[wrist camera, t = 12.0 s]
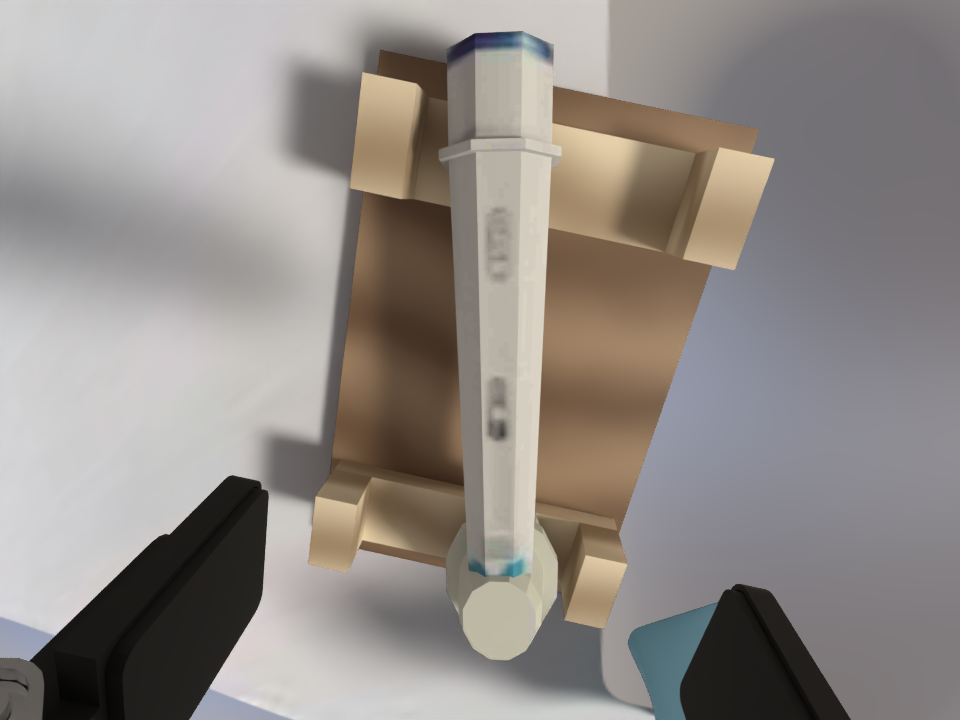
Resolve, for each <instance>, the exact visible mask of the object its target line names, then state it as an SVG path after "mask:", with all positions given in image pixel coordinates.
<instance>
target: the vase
mask: <svg viewBox="0 0 960 720" xmlns="http://www.w3.org/2000/svg"><path fill="white" fill-rule="evenodd" d="M717 605H718V602H717V603H714V604H711V605H707V606H704V607H701V608H698V609H695V610H692V611H689V612H686V613H683V614H679V615H676V616H673V617H670V618H667V619H664V620H660V621H657V622H654V623H651V624H648V625H645V626H642V627H639V628H637V629H635V630H634V631H633V632H632V633H631V635H630V637H629V640H628V645H629V649H630V651H631V654H632V656H633V658H634V660H635V662H636V664H637V667H638V669H639V671H640V673H641V675H642V678H643V680H644V682H645V685H646V688H647V690H648V693H649V696H650V699H651V702H652V705H653V709H654V713H655V719H656V720H686V718H685V715H684V712H683V709H682V706H681V702H680V684H681V681H682V679H683V677H684V675H685V673H686V671H687V668H688V666H689V664H690V662H691V660H692V658H693V656H694V654H695V651H696V649H697V647H698V645H699V643H700V641H701V639H702V636H703V634H704V632H705V630H706V628H707V626H708V624H709V622H710V619H711V617H712V615H713V613H714V611H715V609H716V607H717Z"/></svg>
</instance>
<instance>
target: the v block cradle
mask: <svg viewBox="0 0 960 720" xmlns="http://www.w3.org/2000/svg"><path fill="white" fill-rule="evenodd" d="M758 132H759V129H754V128H749V127H745V126H740V125H735V124H730V123H726V122H721V121H716V120H711V119H707V118H702V117H697V116H692V115H688V114H683V113H678V112H673V111H669V110H664V109H659V108H654V107H650V106H645V105H640V104H635V103H631V102H625V101H621V100H616V99H612V98H607V97H602V96H597V95H593V94H588V93H583V92H578V91H573V90H569V89H564V88H559V87H554V86H553V107H552V144H553V145H557V146H562V151H561V159H560V162H559V164H558V167H556V168H551V181H550V202H549V223H548V244H547V265H546V286H545V308H544V329H543V350H542V371H541V392H540V413H539V434H538V455H537V476H536V497H535V513H536V518H537V520H538V522H539V524H540V526H542V527H543V529H544V531H545V533H546V535H547V537H548V539H549V541H550V543H551V545H552V547H553V549H554V551H555V553H556V555H557V561H558V579H557V592H558V593H562V602H563V612H564V620H565V621H570V622H574V623H579V624H583V625H588V626H592V627H597V628H602V629H604V628H605V625H606V622H607V620H608V617H609V614H610V611H611V609H612V606H613V603H614V600H615V597H616V595H617V592H618V589H619V586H620V584H621V581H622V578H623V576H624V573H625V570H626V567H627V565H628V564H627V561H626V558H625V554H624V551H623V548H622V544H621V540H620V537H619V531H620V529H621V526H622V523H623V520H624V517H625V514H626V511H627V509H628V506H629V503H630V500H631V497H632V494H633V491H634V488H635V486H636V483H637V480H638V477H639V474H640V471H641V468H642V465H643V462H644V460H645V457H646V454H647V450H648V448H649V445H650V442H651V440H652V436H653V434H654V431H655V428H656V425H657V422H658V419H659V417H660V414H661V411H662V408H663V405H664V402H665V399H666V396H667V393H668V390H669V388H670V385H671V382H672V379H673V376H674V373H675V370H676V368H677V365H678V362H679V359H680V356H681V353H682V350H683V347H684V344H685V342H686V339H687V336H688V333H689V330H690V327H691V324H692V321H693V318H694V316H695V313H696V310H697V307H698V304H699V301H700V299H701V296H702V293H703V290H704V287H705V284H706V281H707V278H708V276H709V272H710V269H711V267H712V265H713V266H718V267H723V268H727V269H732V270H734V269H735V267H736V264H737V262H738V259H739V256H740V253H741V251H742V248H743V245H744V242H745V240H746V237H747V234H748V231H749V228H750V226H751V223H752V220H753V217H754V215H755V212H756V209H757V206H758V204H759V201H760V198H761V195H762V192H763V190H764V187H765V184H766V182H767V179H768V176H769V173H770V171H771V168H772V165H773V162H774V160H775V159H772V158H767V157H763V156H758V155H753V154H751V151H752V149H753V146H754V143H755V140H756V137H757V135H758ZM445 147H448V94H447V64H445V63H440V62H435V61H431V60H426V59H421V58H416V57H412V56H407V55H402V54H397V53H393V52H388V51H383V50H380V56H379V65H378V73H377V75H374V74H369V73H364V72H362V81H361V90H360V99H359V108H358V117H357V126H356V135H355V144H354V153H353V162H352V171H351V180H350V188H351V189H356V190H361V191H363V199H362V207H361V216H360V224H359V233H358V241H357V249H356V258H355V266H354V275H353V283H352V291H351V300H350V308H349V317H348V325H347V333H346V342H345V350H344V358H343V367H342V375H341V384H340V392H339V400H338V409H337V417H336V426H335V434H334V442H333V451H332V459H331V468H330V476H329V477H328V479H327V480H326V482H325V483H324V485H323V486H322V488H321V489H320V491H319V492H318V493H317V495H316V497H315V506H314V515H313V524H312V533H311V542H310V551H309V560H308V564H310V565H314V566H319V567H323V568H328V569H332V570H337V571H342V572H346V573H347V572H348V570H349V568H350V566H351V564H352V562H353V559H354V557H355V555H356V553H357V551H358V549H362V550H366V551H371V552H375V553H380V554H385V555H389V556H394V557H398V558H403V559H407V560H412V561H417V562H421V563H426V564H430V565H435V566H439V567H444V568H446V558H447V554H448V551H449V549H450V547H451V545H452V543H453V541H454V539H455V537H456V535H457V533H458V531H459V529H460V527H461V525H462V524H463V523H465V522H466V512H465V491H464V470H463V449H462V429H461V408H460V387H459V366H458V346H457V325H456V304H455V283H454V263H453V242H452V221H451V200H450V180H449V170H446V169H445V167H444V166H443V165H442V163H441V162H440V160H439V149H442V148H445Z"/></svg>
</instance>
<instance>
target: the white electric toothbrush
mask: <svg viewBox="0 0 960 720" xmlns="http://www.w3.org/2000/svg"><path fill="white" fill-rule="evenodd" d="M553 51H554V45H553V44H550V43H548V42H546V41H543V40H541V39H539V38H537V37H534V36H532V35H530V34H527V33H525V32H523V31H517V32H493V33H475V34H473V35H471V36H469V37H468V38H466V39H464V40H462V41H460V42H459V43H457V44H455V45H453V46H452V47H450V48H448V49H447V94H448V147H445V148H442V149H439V160H440V162H441V163H442V165H443V166H444V167H445V169H446V170H449V180H450V200H451V221H452V242H453V263H454V283H455V304H456V325H457V346H458V366H459V387H460V408H461V429H462V449H463V470H464V491H465V512H466V522H465V523H463V524H462V525H461V527H460V529H459V531H458V533H457V535H456V537H455V539H454V541H453V543H452V545H451V547H450V549H449V551H448V554H447V558H446V585H447V593H448V595H449V597H450V599H451V601H452V603H453V605H454V607H455V608H456V610H457V612H458V614H459V622H460V625H461V627H462V629H463V631H464V633H465V635H466V636H467V638H468V640H469V642H470V644H471V646H472V648H473V649H475V650H476V651H478V652H479V653H481V654H482V655H484V656H485V657H487V658H488V659H491V660H510V659H512V658H514V657H516V656H518V655H519V654H521V653H523V652H525V651H526V650H527V648H528V647H529V645H530V643H531V642H532V640H533V638H534V636H535V635H536V633H537V631H538V629H539V628H540V626H541V624H542V622H543V620H544V619H545V617H546V615H547V613H548V612H549V610H550V608H551V606H552V605H553V603H554V601H555V599H556V598H557V579H558V561H557V555H556V553H555V551H554V549H553V547H552V545H551V543H550V541H549V539H548V537H547V535H546V533H545V531H544V529H543V527H542V526H540V524H539V522H538V520H537V518H536V513H535V497H536V476H537V455H538V434H539V413H540V392H541V371H542V350H543V329H544V308H545V286H546V265H547V244H548V223H549V202H550V181H551V168H556V167H558V164H559V162H560V159H561V151H562V146H557V145H553V144H552V107H553Z"/></svg>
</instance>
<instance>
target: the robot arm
mask: <svg viewBox="0 0 960 720" xmlns="http://www.w3.org/2000/svg"><path fill="white" fill-rule="evenodd" d="M268 498H269V496H268V491H266V490H262V488H261V483H260V482H259V481H256V480H251V479H247V478H242V477H237V476H233V475H232V476H229V477H227V478H226V479H225V480H224V481H223V482H222V483H221V484H220V485H219V486H218V487H217V488H216V489H215V490H214V491H213V492H212V493H211V494H210V495H209V496H208V497H207V498H206V499H205V500H204V501H203V502H202V503H201V504H200V505H199V506H198V507H197V508H196V509H195V510H194V511H193V512H192V513H191V514H190V515H189V516H188V517H187V518H186V519H185V520H184V521H183V522H182V523H181V524H180V525H179V526H178V527H177V528H176V529H175V530H174V531H173V532H172V533H171V534H170V535H168V534H164V535H162V536H159V537H158V538H157V539H155V540H154V541H153V542H152V543H151V544H149V545H148V546H147V547H146V548H145V549H144V550H143V551H142V552H141V553H140V554H139V555H138V556H137V557H136V558H135V559H134V560H133V561H132V562H131V563H130V564H129V565H128V566H127V567H126V568H125V569H124V570H123V571H122V572H121V573H120V574H119V575H118V576H117V577H115V578H114V579H113V580H112V581H111V582H110V583H109V584H108V585H107V586H106V587H105V588H104V589H103V590H102V591H101V592H100V593H99V594H98V595H97V596H96V597H95V598H94V599H93V600H92V601H91V602H90V603H89V604H88V605H87V606H86V607H85V608H84V609H83V610H82V611H80V612H79V613H78V614H77V615H76V616H75V617H74V618H73V619H72V620H71V621H70V622H69V623H68V624H67V625H66V626H65V627H64V628H63V629H62V630H61V631H60V632H59V633H58V634H57V635H56V636H55V637H54V638H53V639H52V640H51V641H50V642H49V643H48V644H47V645H46V646H44V647H43V648H42V649H41V650H40V652H38V653H37V654H36V655H35V656H34V657H33V658H32V659H31V660H30V661H26V660H23V659H20V658H0V720H189V719H190V718H191V716H192V714H193V713H194V711H195V709H196V708H197V706H198V705H199V703H200V701H201V700H202V698H203V696H204V695H205V693H206V692H207V690H208V688H209V687H210V685H211V684H212V682H213V680H214V679H215V677H216V675H217V674H218V672H219V671H220V669H221V667H222V666H223V664H224V662H225V661H226V659H227V658H228V656H229V654H230V653H231V651H232V650H233V648H234V646H235V645H236V643H237V641H238V640H239V638H240V637H241V635H242V633H243V632H244V630H245V628H246V627H247V625H248V624H249V622H250V620H251V619H252V617H253V615H254V614H255V612H256V610H257V608H258V606H259V603H260V600H261V597H262V591H263V576H264V560H265V545H266V529H267V513H268ZM680 702H681V706H682V709H683V712H684V715H685V718H686V720H851V719H850V718H849V716H848V715H847V713H846V711H845V710H844V708H843V706H842V705H841V703H840V702H839V700H838V699H837V697H836V695H835V694H834V692H833V690H832V689H831V687H830V686H829V684H828V683H827V681H826V679H825V678H824V676H823V674H822V673H821V672H820V670H819V668H818V667H817V665H816V663H815V662H814V660H813V658H812V657H811V655H810V654H809V652H808V650H807V649H806V647H805V646H804V644H803V642H802V641H801V639H800V637H799V636H798V634H797V633H796V631H795V629H794V628H793V626H792V625H791V623H790V621H789V620H788V618H787V617H786V616H785V614H784V612H783V610H782V609H781V607H780V605H779V604H778V602H777V601H776V599H775V597H774V596H773V595H772V593H771V592H769V591H768V590H766V589H761V588H756V587H752V586H747V585H742V584H736V585H735V586H733V587H732V589H731V590H725V591H724V592H723V594H722V596H721V598H720V600H719V602H718V605H717V607H716V609H715V611H714V613H713V615H712V617H711V619H710V622H709V624H708V626H707V628H706V630H705V632H704V634H703V636H702V639H701V641H700V643H699V645H698V647H697V649H696V651H695V654H694V656H693V658H692V660H691V662H690V664H689V666H688V668H687V671H686V673H685V675H684V677H683V679H682V681H681V684H680Z"/></svg>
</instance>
